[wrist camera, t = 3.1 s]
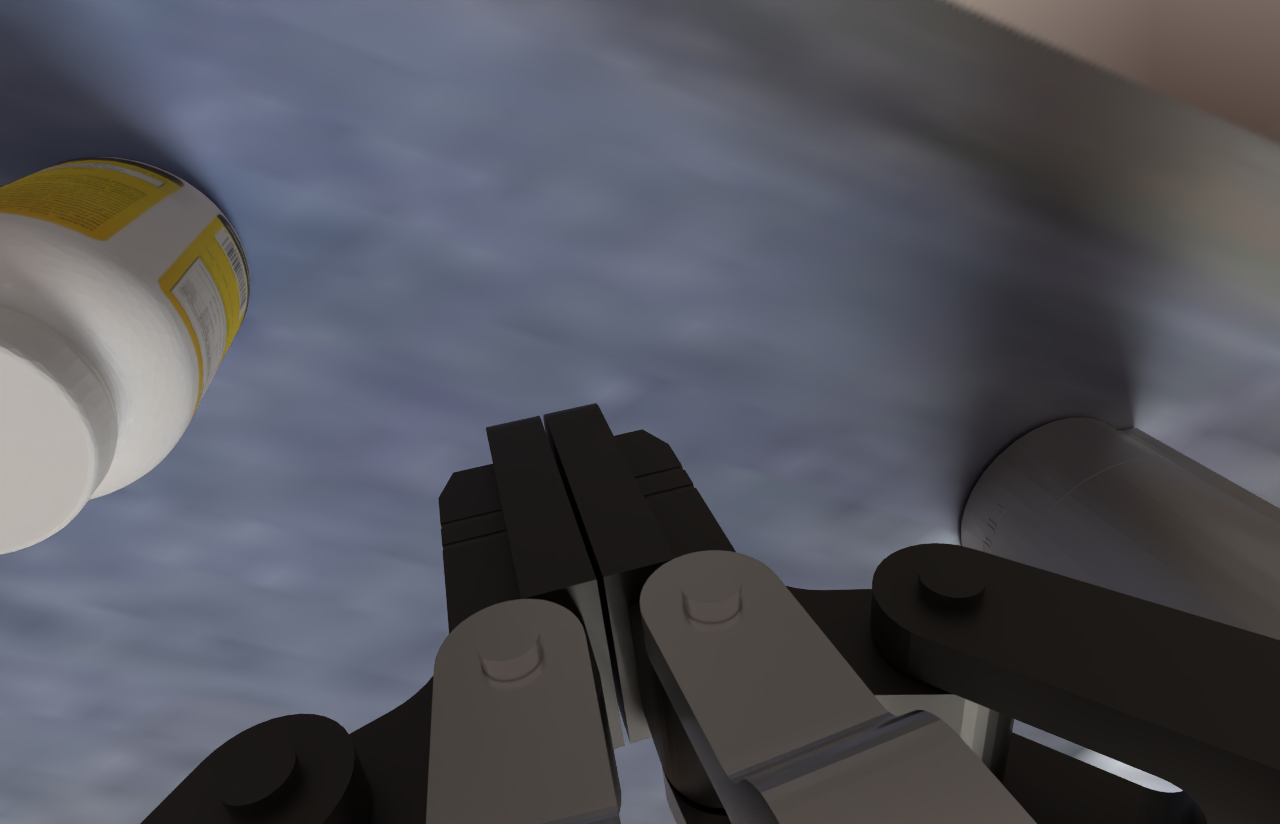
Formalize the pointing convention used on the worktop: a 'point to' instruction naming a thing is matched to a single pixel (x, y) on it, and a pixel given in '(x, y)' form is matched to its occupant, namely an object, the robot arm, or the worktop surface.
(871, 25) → the worktop surface
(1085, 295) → the worktop surface
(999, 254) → the worktop surface
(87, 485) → the pill bottle
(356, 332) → the worktop surface
